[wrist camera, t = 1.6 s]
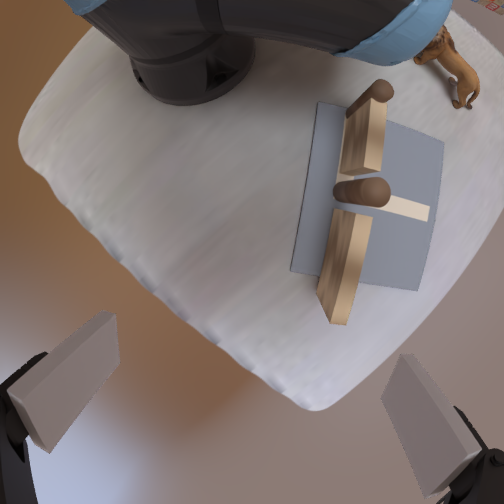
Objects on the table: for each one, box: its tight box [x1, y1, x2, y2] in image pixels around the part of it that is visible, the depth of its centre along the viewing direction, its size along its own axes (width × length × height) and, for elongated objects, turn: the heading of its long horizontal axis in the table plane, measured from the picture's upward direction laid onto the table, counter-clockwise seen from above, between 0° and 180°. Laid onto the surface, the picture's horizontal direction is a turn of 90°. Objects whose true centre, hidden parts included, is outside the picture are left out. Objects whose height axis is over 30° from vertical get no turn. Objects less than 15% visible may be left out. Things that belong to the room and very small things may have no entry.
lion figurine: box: [414, 24, 480, 109], centre depth 21 cm, size 15×5×9 cm, turn 55°
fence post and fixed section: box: [333, 79, 394, 208], centre depth 24 cm, size 12×2×11 cm, turn 171°
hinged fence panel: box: [316, 208, 373, 325], centre depth 27 cm, size 10×2×8 cm, turn 171°
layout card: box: [290, 102, 444, 291], centre depth 30 cm, size 20×18×1 cm
